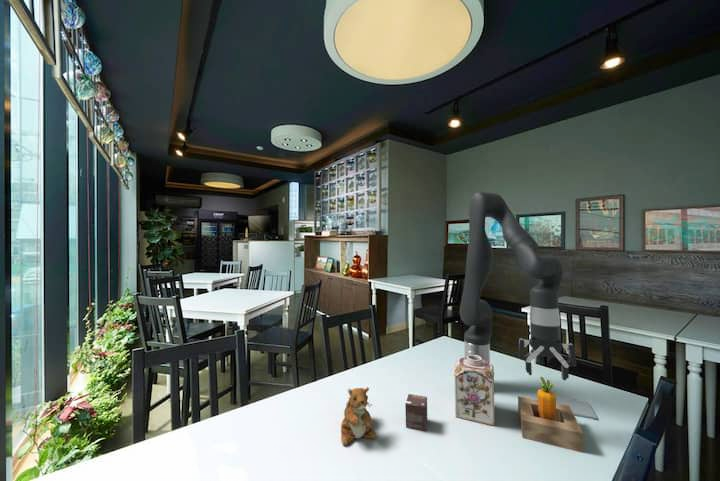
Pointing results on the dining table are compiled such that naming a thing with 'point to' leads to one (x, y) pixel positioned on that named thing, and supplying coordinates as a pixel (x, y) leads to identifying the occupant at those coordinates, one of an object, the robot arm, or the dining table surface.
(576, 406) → the rubber mat
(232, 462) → the dining table surface
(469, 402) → the decorative jar
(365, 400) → the stuffed squirrel
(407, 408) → the box
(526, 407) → the socket block
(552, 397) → the carrot
